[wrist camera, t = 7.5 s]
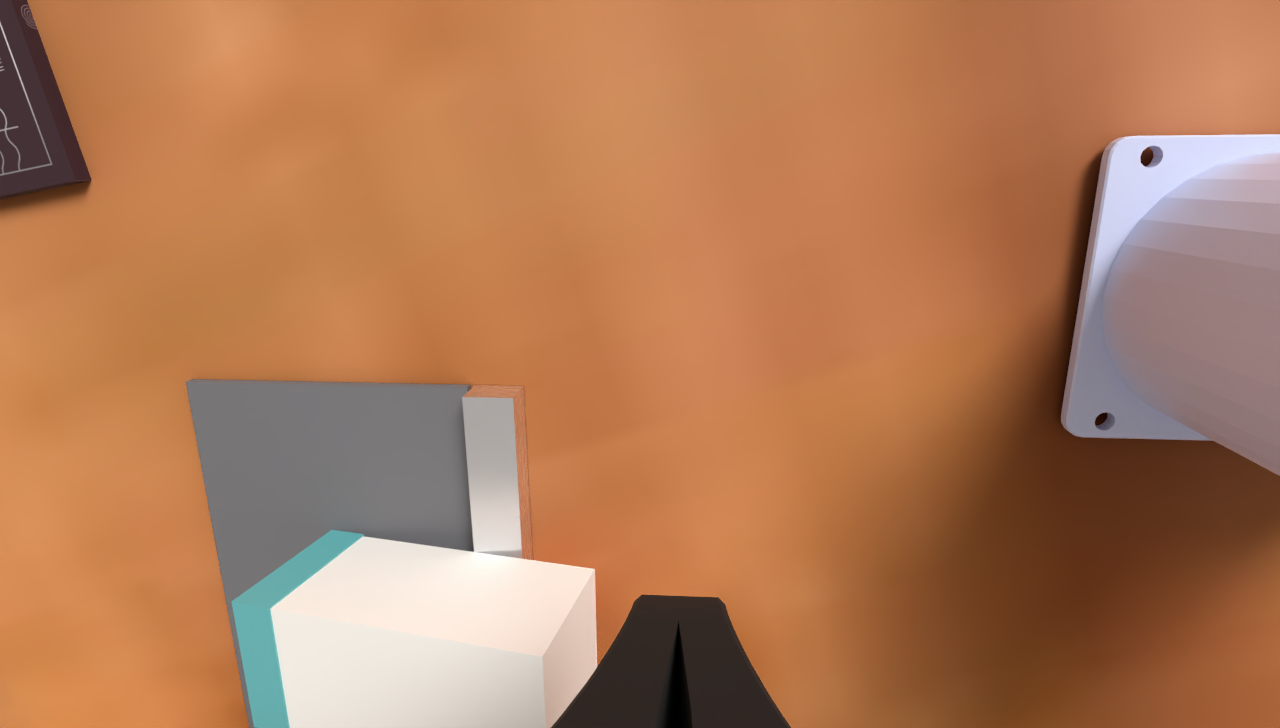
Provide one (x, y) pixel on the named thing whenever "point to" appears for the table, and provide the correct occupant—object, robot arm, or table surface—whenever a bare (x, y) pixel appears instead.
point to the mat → (327, 470)
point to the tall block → (414, 638)
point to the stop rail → (498, 470)
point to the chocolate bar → (32, 112)
